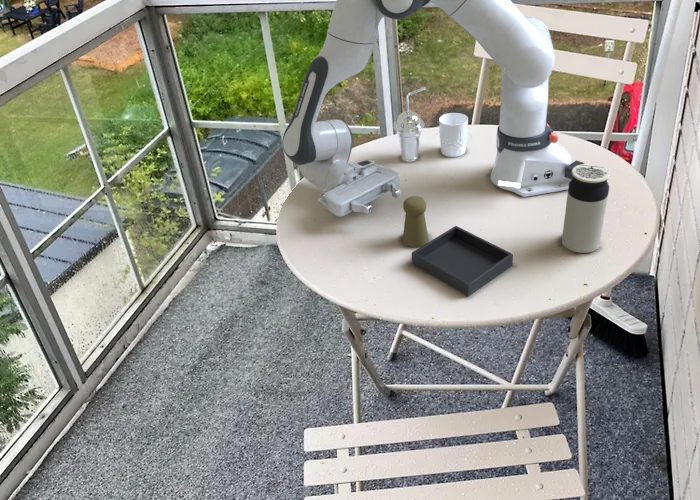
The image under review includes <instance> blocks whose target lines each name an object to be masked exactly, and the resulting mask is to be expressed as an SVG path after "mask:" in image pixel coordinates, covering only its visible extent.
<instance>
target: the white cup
mask: <svg viewBox="0 0 700 500" xmlns="http://www.w3.org/2000/svg"><path fill="white" fill-rule="evenodd" d="M468 125H469V117H468V116H467V115H466V114H464V113H460V112H449V113H445V114H442V115H441V116H439V118H438V129H439V143H440V152H441V154H442V155H443V156H445V157H449V158H457V157H461V156H463V155H464V154H466V149H467V142H468V141H467V139H468Z"/></svg>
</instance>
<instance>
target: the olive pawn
mask: <svg viewBox="0 0 700 500" xmlns="http://www.w3.org/2000/svg"><path fill="white" fill-rule="evenodd" d="M402 209H403V212H404V213H405V216H404V225H403V232H402V233H403V234H402V243H403V244H404V245H405V246H407V247H409V248H420V247H422V246H423V245H425V244H427V243H428V242H430V239H429V233H428V227H427V226H428V225H427V222H426V216H425V212H426V210H427V202H426V200H425V199H424V197H422V196H420V195H411V196H408V197H406V198H405V199H404V201H403V203H402Z"/></svg>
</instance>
